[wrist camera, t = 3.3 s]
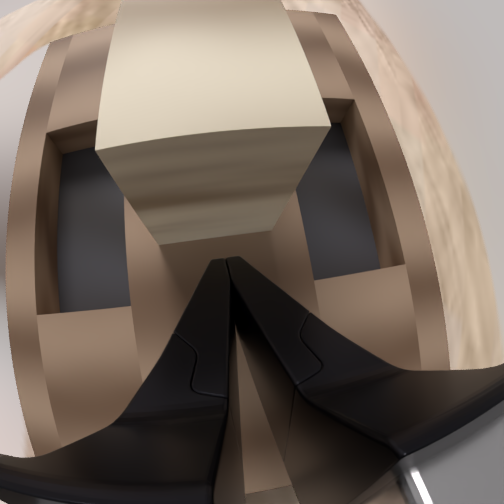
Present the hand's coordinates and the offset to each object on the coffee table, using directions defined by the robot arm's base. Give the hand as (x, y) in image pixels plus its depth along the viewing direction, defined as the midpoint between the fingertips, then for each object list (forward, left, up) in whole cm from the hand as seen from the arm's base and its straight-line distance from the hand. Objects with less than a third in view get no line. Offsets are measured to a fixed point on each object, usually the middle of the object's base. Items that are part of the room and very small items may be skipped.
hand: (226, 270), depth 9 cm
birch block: (+6, -5, -4) cm, 8 cm away
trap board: (+4, -3, -7) cm, 9 cm away
